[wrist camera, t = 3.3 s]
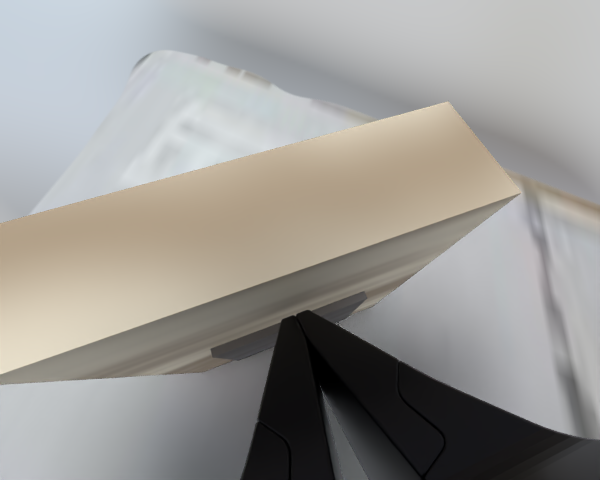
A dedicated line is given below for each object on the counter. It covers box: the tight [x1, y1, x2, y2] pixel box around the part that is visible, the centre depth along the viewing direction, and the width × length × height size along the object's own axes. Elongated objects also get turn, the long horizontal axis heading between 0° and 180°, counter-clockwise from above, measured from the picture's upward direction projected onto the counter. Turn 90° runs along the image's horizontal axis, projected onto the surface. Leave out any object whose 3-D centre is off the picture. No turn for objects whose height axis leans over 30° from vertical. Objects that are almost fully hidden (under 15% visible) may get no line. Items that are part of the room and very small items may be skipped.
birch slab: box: [0, 102, 522, 385], centre depth 12 cm, size 3×11×13 cm, turn 111°
